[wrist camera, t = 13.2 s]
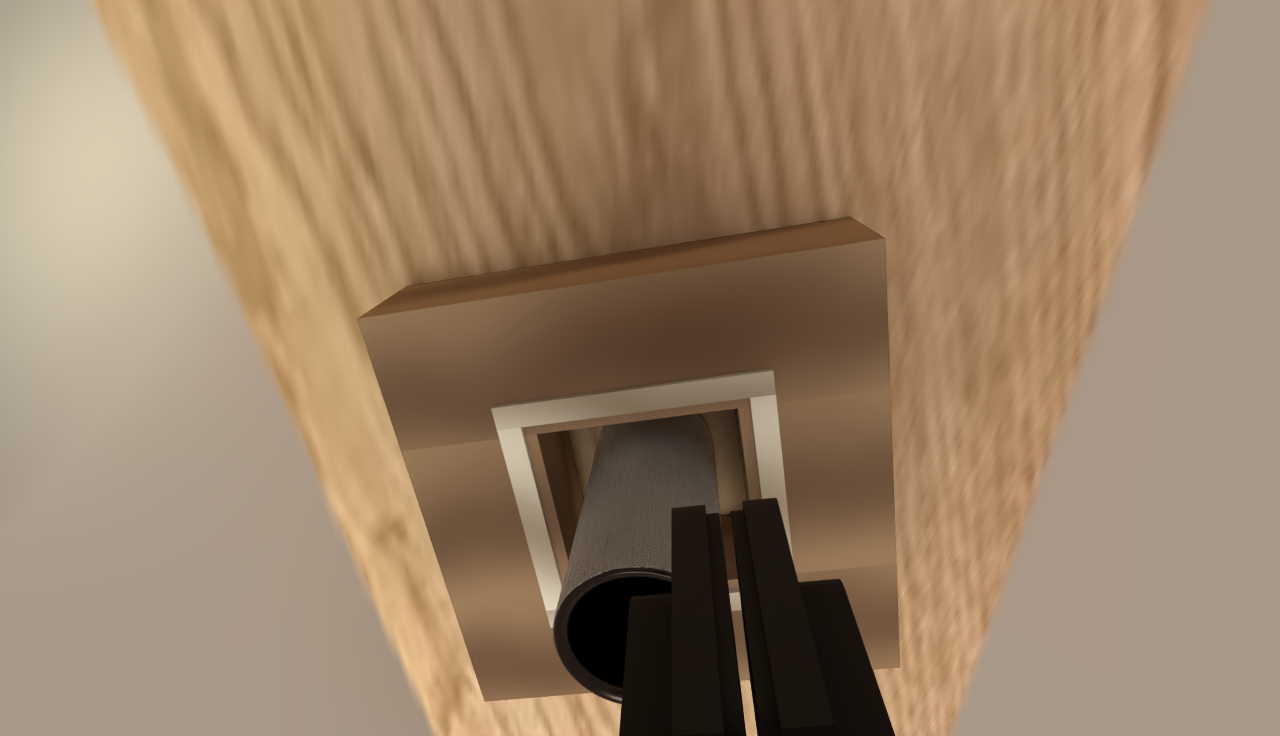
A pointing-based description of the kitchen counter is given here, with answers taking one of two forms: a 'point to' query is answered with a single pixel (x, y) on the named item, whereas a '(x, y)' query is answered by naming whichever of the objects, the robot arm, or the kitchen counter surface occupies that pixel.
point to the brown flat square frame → (644, 417)
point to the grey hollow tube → (628, 539)
